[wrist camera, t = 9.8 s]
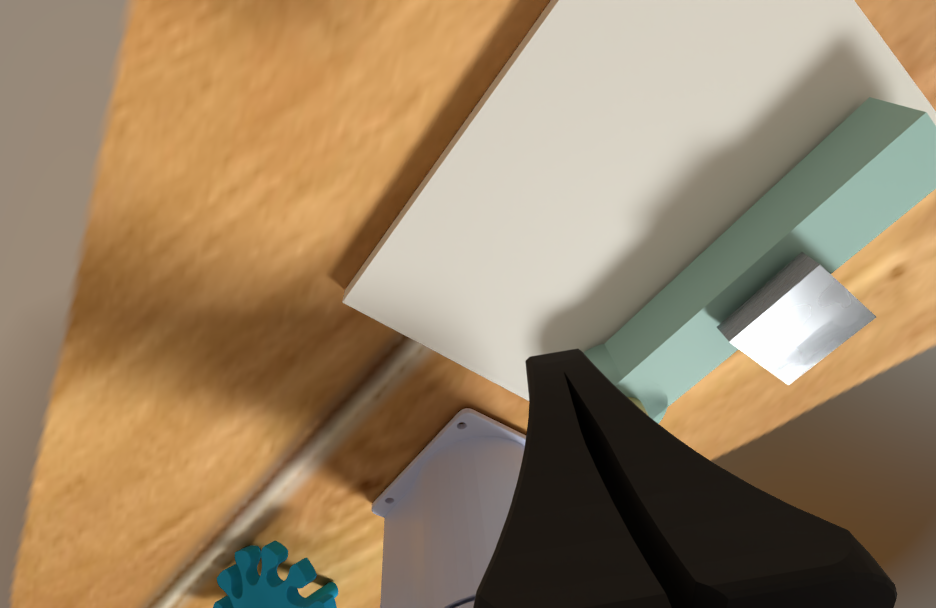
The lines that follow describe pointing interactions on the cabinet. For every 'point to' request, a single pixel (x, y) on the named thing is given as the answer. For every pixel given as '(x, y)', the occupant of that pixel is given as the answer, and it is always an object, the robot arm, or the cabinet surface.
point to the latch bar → (775, 248)
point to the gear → (270, 582)
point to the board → (613, 168)
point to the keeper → (795, 319)
